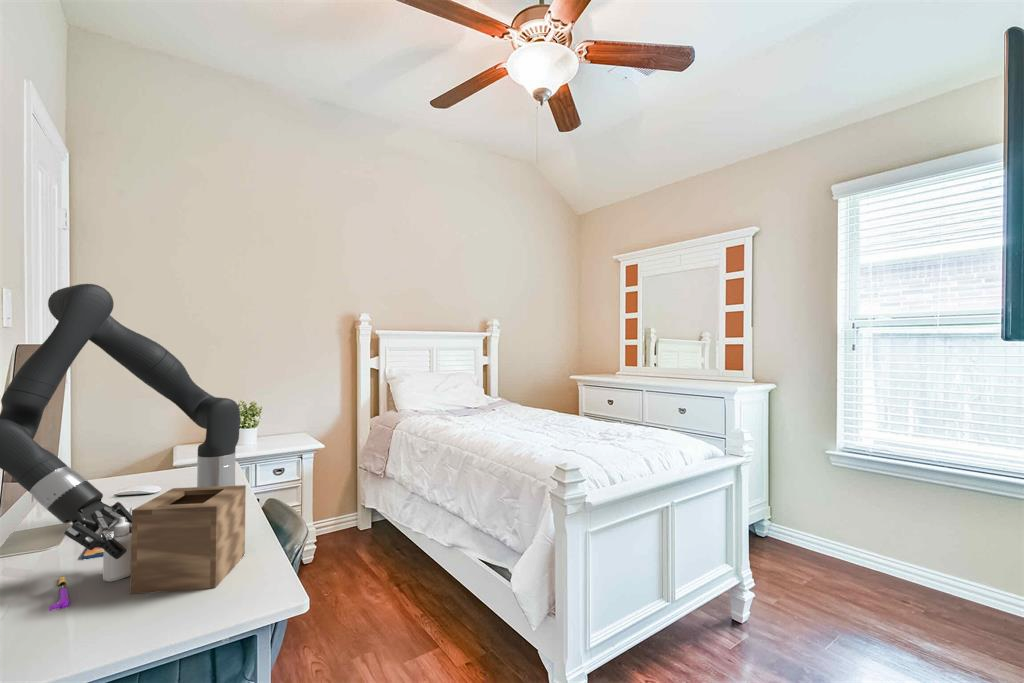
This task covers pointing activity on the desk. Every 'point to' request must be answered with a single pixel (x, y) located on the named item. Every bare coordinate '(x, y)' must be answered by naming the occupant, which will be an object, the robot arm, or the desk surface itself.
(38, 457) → the robot arm
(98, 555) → the smartphone
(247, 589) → the desk surface
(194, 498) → the box
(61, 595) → the linear piston actuator
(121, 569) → the eye dropper bottle
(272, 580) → the desk surface
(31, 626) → the desk surface
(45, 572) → the desk surface
